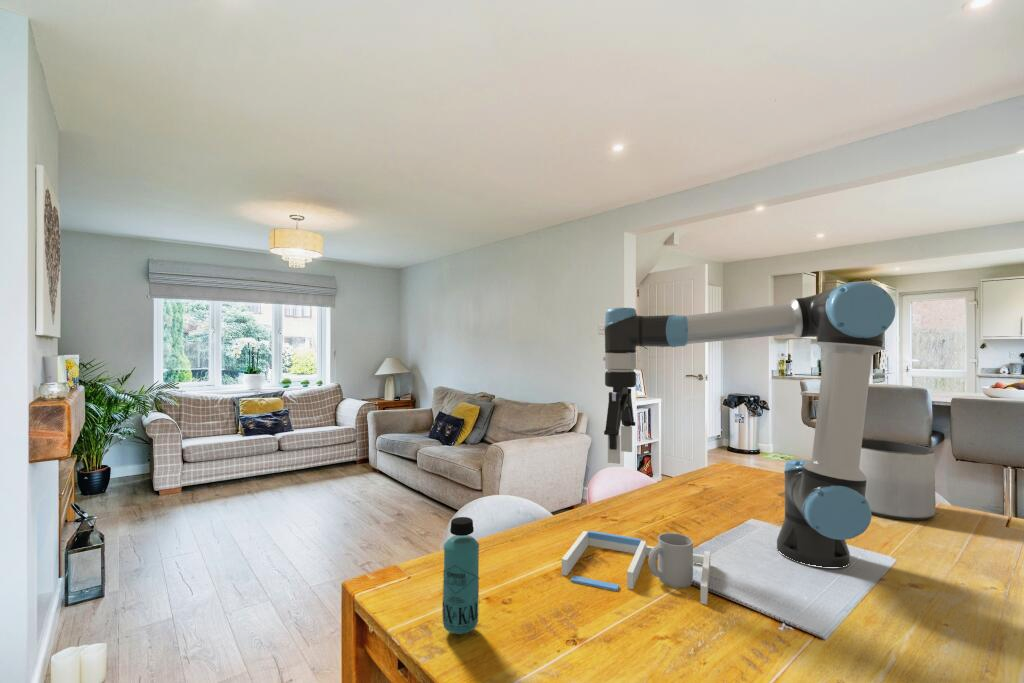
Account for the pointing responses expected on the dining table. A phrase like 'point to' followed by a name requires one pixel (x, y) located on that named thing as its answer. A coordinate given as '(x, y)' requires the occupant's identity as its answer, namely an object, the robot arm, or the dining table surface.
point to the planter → (899, 479)
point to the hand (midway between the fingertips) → (620, 457)
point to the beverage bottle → (461, 578)
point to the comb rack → (626, 546)
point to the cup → (673, 560)
